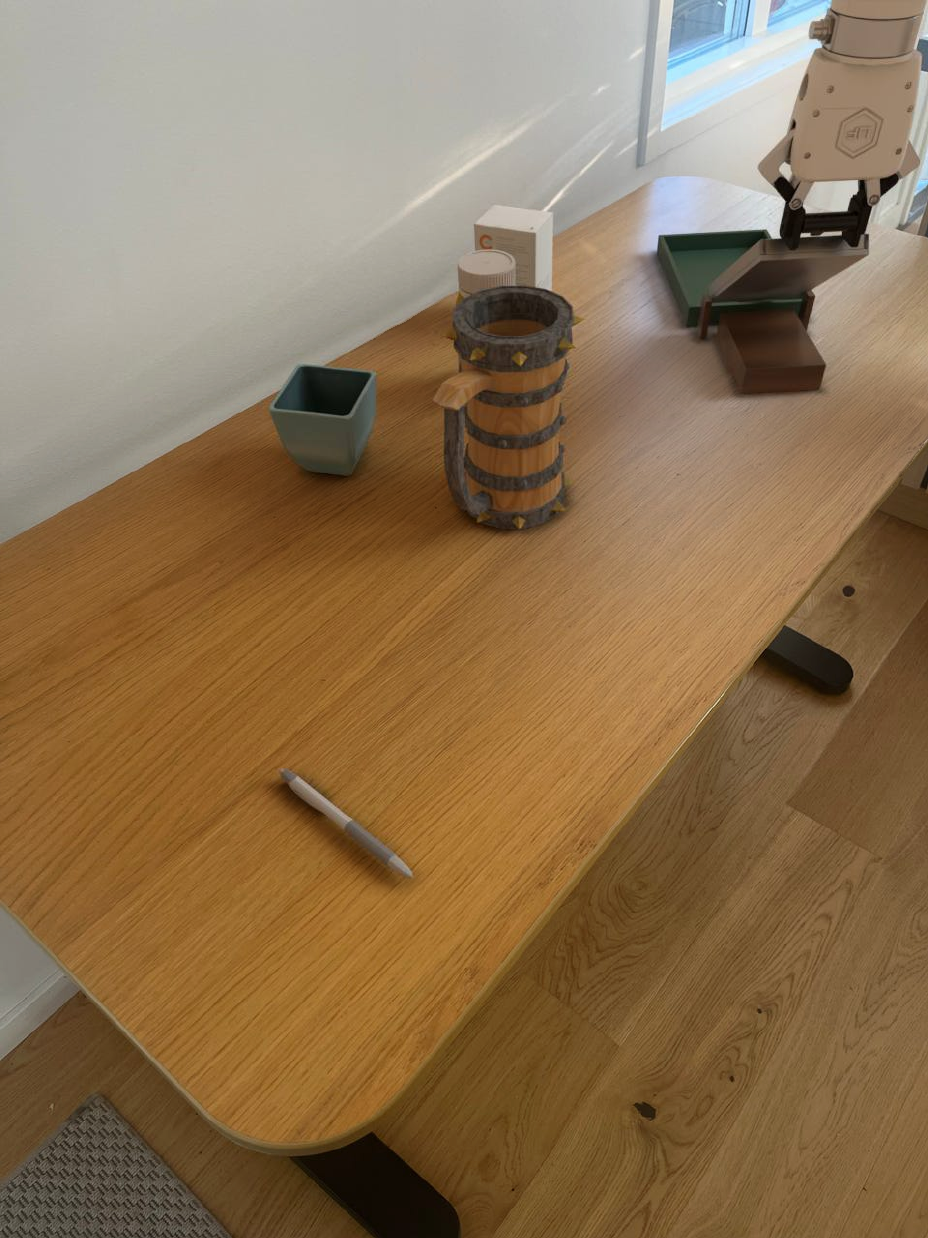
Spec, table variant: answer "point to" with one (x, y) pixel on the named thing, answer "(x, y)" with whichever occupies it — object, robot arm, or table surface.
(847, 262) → the grey pull-out drawer
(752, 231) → the tray
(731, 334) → the stand
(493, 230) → the small box
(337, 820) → the pen
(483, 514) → the mug
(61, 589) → the table surface
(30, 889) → the table surface
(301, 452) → the flower pot
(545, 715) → the table surface
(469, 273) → the bottle
